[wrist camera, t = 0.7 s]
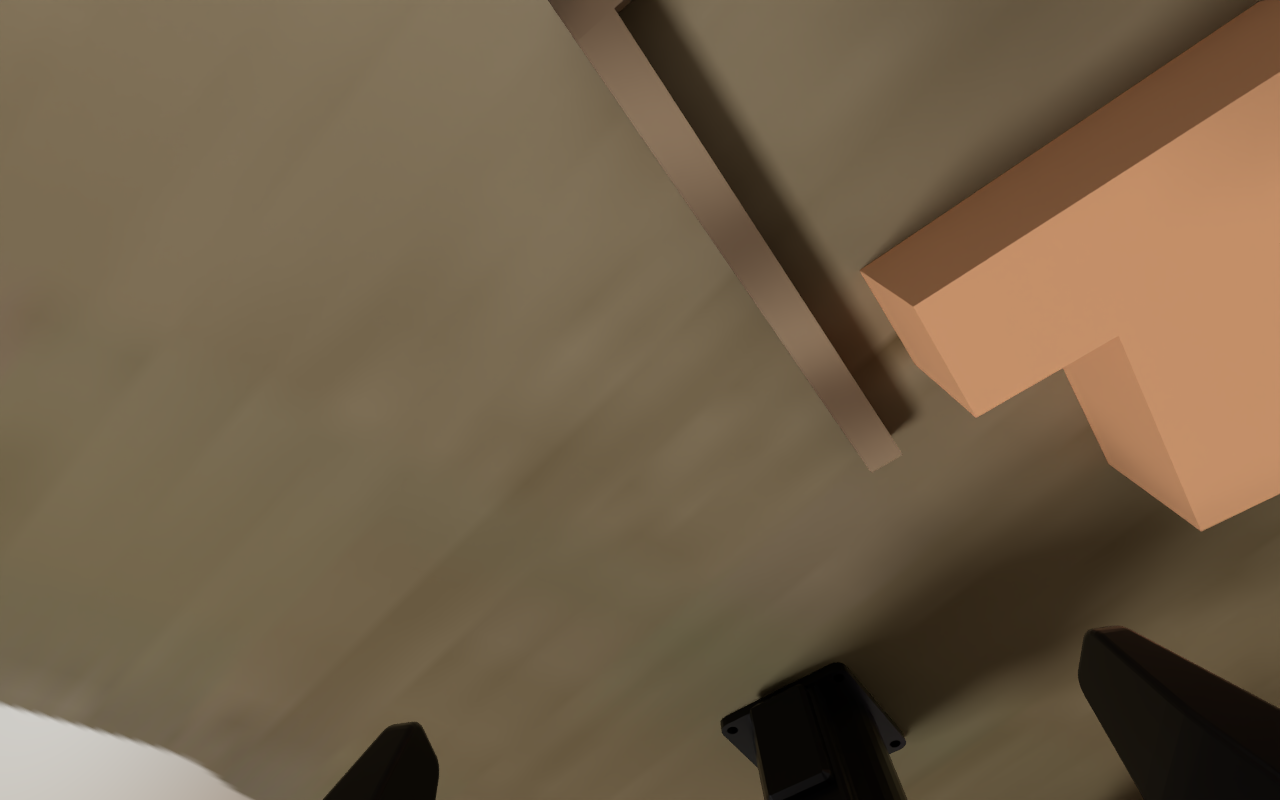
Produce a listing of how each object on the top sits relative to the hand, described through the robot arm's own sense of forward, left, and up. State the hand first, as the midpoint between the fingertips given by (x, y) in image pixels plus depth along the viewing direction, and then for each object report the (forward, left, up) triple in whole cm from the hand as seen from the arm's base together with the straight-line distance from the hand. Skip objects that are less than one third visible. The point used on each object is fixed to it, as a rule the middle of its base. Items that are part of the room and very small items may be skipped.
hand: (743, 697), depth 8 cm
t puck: (-7, -12, -13) cm, 19 cm away
